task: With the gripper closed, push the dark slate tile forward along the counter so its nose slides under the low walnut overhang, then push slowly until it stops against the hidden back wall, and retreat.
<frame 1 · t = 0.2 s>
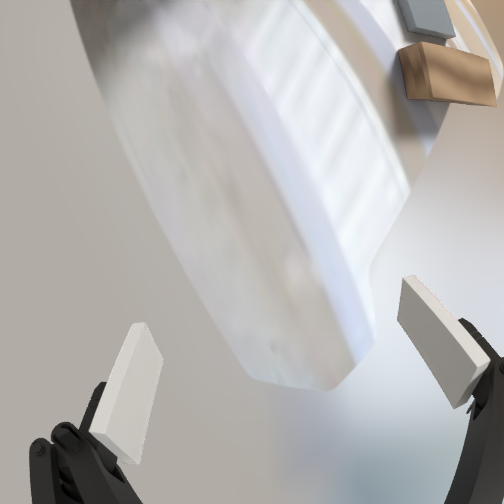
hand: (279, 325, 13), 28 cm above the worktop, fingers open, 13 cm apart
tan wooden channel: (434, 55, 29), on the worktop
tile: (418, 6, 25), on the worktop
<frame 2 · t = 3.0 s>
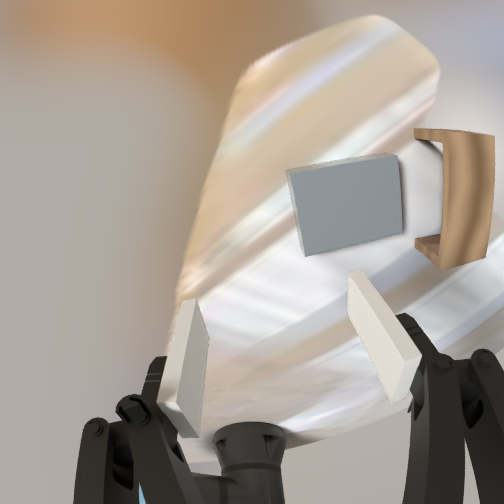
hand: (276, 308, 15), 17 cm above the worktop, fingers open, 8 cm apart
tan wooden channel: (416, 190, 30), on the worktop
tile: (343, 198, 30), on the worktop
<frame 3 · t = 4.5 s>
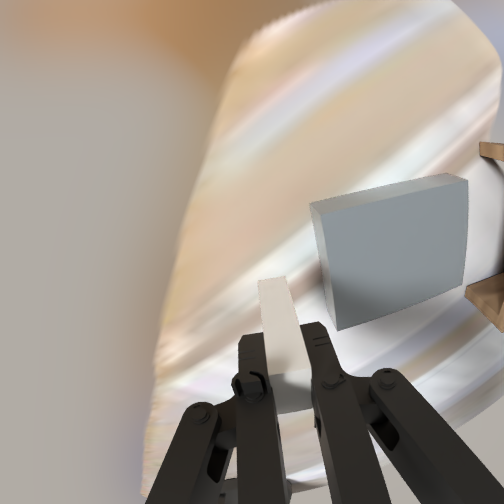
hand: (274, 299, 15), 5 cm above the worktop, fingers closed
tan wooden channel: (477, 225, 19), on the worktop
tile: (390, 240, 20), on the worktop
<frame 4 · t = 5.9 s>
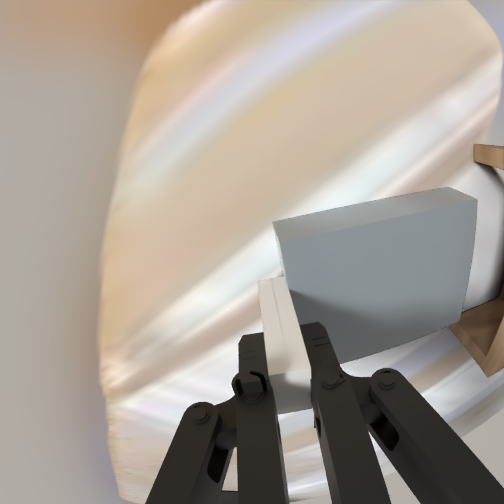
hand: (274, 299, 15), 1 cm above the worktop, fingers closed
tan wooden channel: (467, 247, 16), on the worktop
tile: (376, 268, 17), on the worktop, touching gripper
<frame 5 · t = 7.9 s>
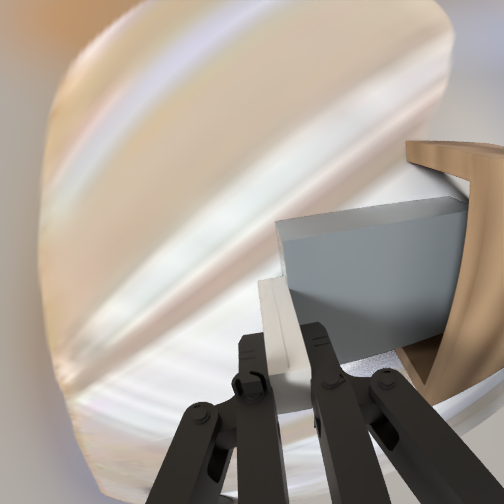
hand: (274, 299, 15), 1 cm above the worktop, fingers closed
tan wooden channel: (404, 261, 16), on the worktop
tile: (374, 272, 17), on the worktop, touching gripper
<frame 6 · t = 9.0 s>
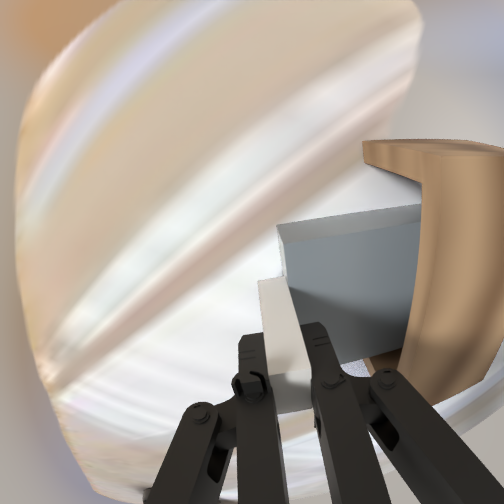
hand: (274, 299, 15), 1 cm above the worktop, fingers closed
tan wooden channel: (367, 268, 17), on the worktop
tile: (373, 274, 17), on the worktop, touching gripper
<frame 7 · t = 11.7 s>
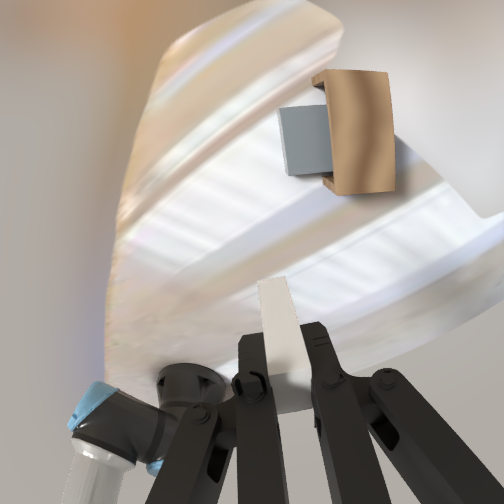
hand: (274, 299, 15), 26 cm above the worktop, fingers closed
tan wooden channel: (318, 130, 35), on the worktop
tile: (323, 136, 36), on the worktop
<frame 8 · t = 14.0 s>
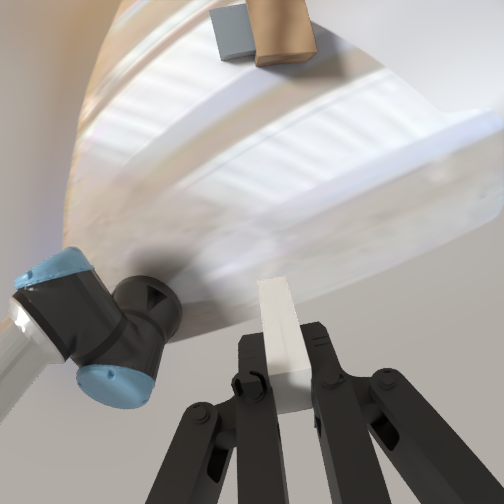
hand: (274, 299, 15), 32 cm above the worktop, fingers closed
tan wooden channel: (247, 26, 34), on the worktop
tile: (253, 31, 34), on the worktop
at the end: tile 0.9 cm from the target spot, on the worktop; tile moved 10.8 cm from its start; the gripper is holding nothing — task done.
